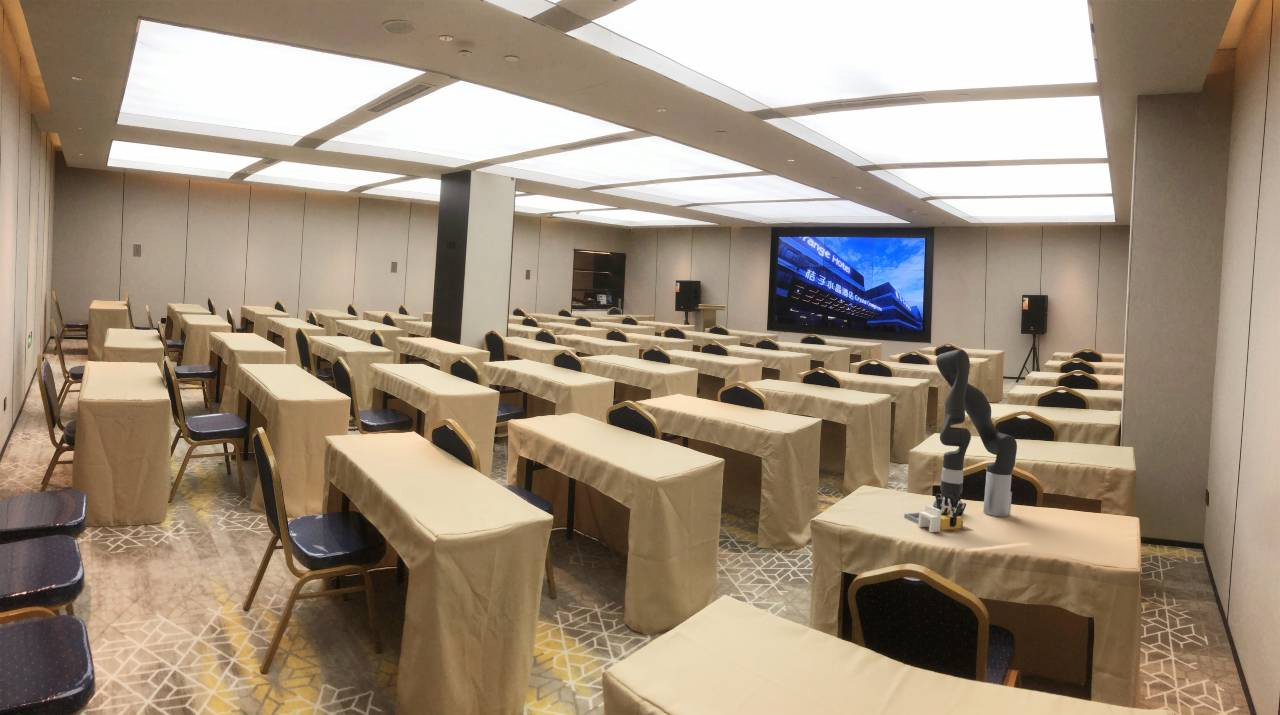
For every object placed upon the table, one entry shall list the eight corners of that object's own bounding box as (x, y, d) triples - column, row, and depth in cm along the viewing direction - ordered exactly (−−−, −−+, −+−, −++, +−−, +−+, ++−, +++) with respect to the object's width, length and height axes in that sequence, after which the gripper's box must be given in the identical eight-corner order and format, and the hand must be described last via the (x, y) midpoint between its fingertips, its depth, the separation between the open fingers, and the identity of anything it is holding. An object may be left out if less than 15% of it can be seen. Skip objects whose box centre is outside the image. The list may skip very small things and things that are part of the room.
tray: (931, 517, 289) (932, 511, 289) (948, 524, 280) (949, 518, 280) (904, 519, 284) (904, 513, 284) (920, 527, 276) (920, 521, 276)
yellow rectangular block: (954, 525, 277) (955, 514, 276) (961, 528, 273) (962, 517, 273) (935, 526, 274) (936, 516, 273) (942, 529, 270) (943, 519, 270)
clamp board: (954, 524, 281) (954, 515, 280) (973, 532, 271) (974, 523, 271) (916, 527, 275) (916, 519, 274) (935, 536, 265) (935, 527, 265)
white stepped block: (926, 525, 274) (928, 504, 273) (939, 531, 268) (941, 510, 267) (918, 526, 273) (919, 505, 272) (931, 532, 267) (932, 511, 266)
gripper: (930, 475, 277) (927, 519, 279) (958, 485, 264) (954, 531, 265) (946, 474, 280) (942, 518, 281) (974, 484, 266) (970, 529, 268)
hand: (948, 524), depth 273 cm, fingers closed on yellow rectangular block, 3 cm apart
